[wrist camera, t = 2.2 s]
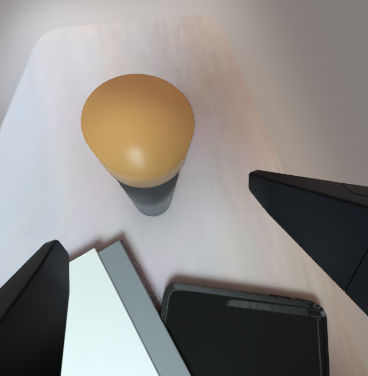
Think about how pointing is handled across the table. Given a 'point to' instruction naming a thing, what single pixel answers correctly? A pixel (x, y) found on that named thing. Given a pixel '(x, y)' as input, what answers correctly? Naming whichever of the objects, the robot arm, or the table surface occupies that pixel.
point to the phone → (245, 332)
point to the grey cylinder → (140, 136)
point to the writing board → (115, 321)
